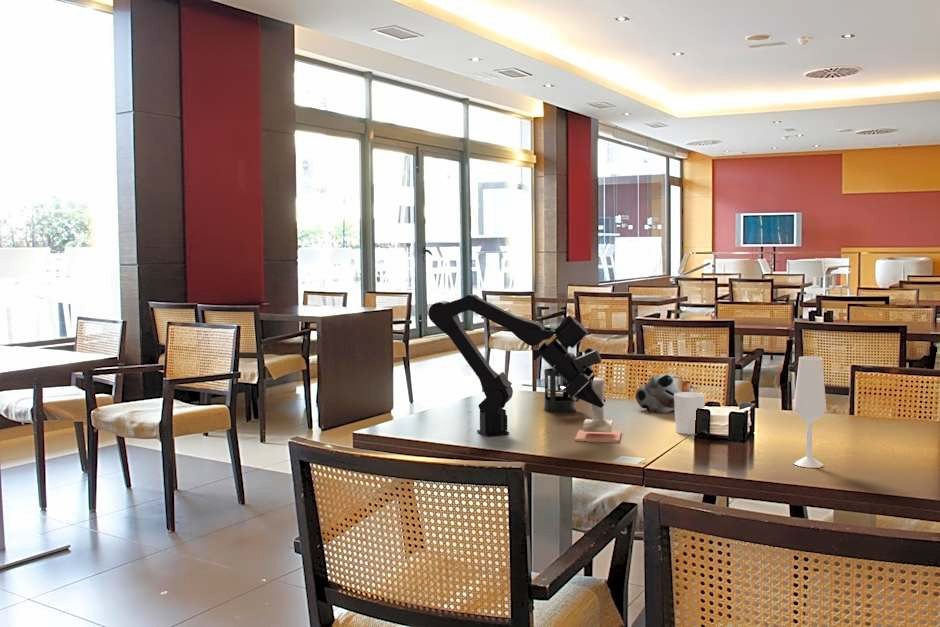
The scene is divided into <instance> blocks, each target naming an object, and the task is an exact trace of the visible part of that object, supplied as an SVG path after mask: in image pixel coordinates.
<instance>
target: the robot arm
mask: <svg viewBox="0 0 940 627" xmlns="http://www.w3.org/2000/svg"><path fill="white" fill-rule="evenodd" d="M468 311H471V312H473V313H475V314H477V315H479V316H481V317H482V318H485V319H487V320H489V321H490V322H493V323H495V324H497V325H499V326H500V327H503V328H505V329H507V330H508V331H509V332H511V333H512V334H513V335H514V336H515V337H516V338H518V339H519V340H521V341H522V342H523V343H524V344H526V345H528V346H530V347H534V346H535V347H536V346H538V345H539V344H541V345H540V346H539V347H538V348H534V349H532V356H533V357H532V360H533V361H536V360H537V359H538V358H539V357H541V358H542V359H543V360H544V361H545V362H546V363H547V364H548V365H549V366H550V367H551V368H553V369H554V370H555V373H556V374H557V375H558V374H559V375H560V378H562V380H563V379H564V380H565V381H566V382H567V383H566V385H567V386H566V393H567V394H568V397H573V396H574V399H577V398H578V399H580V400H582V401H584V402H586V403H589V404H591V405H592V404H593V405H595V406H598V407H600V408H602V407H603V406H604V407H605V402H606V398H605V397H604V404H603V402H602V401H601V400H600V398H599V397H598V395H597V394H596V392H595V391H594V390H593V388H592V381H593V379H594V378H596V373H595V370H594V369H593V367H592V366H594V365H598V364H600V363H601V362H602V357H601V355H600V353H599V350H598V349H593V348H591V347H588V348H586V349H585V350H584V354H583V355H580V356H578V357H577V356H576V355H575V354H574V355H570V354H569V353H570V352H568V350H566V349H568V348H569V347H570V348H572V349H574V348H575V347H576V346H577V345H578V344H579V343H580V342H581V341H582V340H583V339H584V338H585V337H587V335H589V331H588V330H587V328H586V327H585V326H584V325H583V324H582V323H581V322H579V321H578V320H577V319H575V318H574V317H573V316H572V315H570V314H569V315H568V316H567V317H565V318H564V320H563V321H562V323H560V324H559V325H558V326H557V327H556V328H555V327H548V326H545V325H544V323H541V322H540V321H536V320H534V319H533V320H532V319H529V318H524V317H521V316H518V315H515V314H513V313H511V312H509V311H507V310H504V309H503V308H501V307H499V306H497V305H495V304H493V303H491V302H489V301H487V300H485V299H484V298H481V297H479V296H478V295H477V294H474V293H472V294H467V295H465V296H464V297H461V298H458V299H456V300H452V301H446V300H442V301H438V302H435V303H433V304H431V305H430V307H429V309H428V318H429V320H430V321H431V322H432V323H433V324H434V325H435V326H436V327H437V329H439V330H440V331H442V332H443V333H444V334H445V335H447V337H449V339H450V340H451V342H452V344H454V346H455V348H456V349H457V350H458V351H459V352H460V354H461V356H462V357H463V358H464V359H465V361H466V362H467V364H468V365H469V366H470V368H471V370H472V371H473V372H474V373H475V375H476V377H477V378H478V380H479V382H480V384H481V389H482V391H483V393H484V395H485V398H484V399H483V400H482V401H481V402H480V403H479V404H478V408H479V429H478V430H476V432H477V433H478V434H481V435H483V436H487V437H494V436H501V435H508V434H510V431H508V414H507V409H504V408H505V407H506V404H507V403H508V402H509V401H510V400H511V399H512V397H513V394H514V393H513V392H514V390H513V387H512V385H513V383H512V382H511V381H509V380H508V378H507V376H506V374H505V372H504V371H502V372H500V373H497V372H496V371H495V370H494V369H493V368H492V366H491V365H490V364H489V363H488V361H487V360H486V358H485V357H484V356H483V354H482V353H481V351H480V350H479V348H478V347H477V345H476V344H475V343H474V341H473V340H472V339H471V337H470V336H469V334H468V333H467V332H466V330H465V329H464V327H463V325H462V321H461V319H460V316H459V314H462V313H465V312H468ZM554 335H556V336H554ZM553 337H555V338H554V339H552V340H551V341H550V342H547V340H550V339H551V338H553ZM545 340H546V341H545ZM542 342H544V343H543V344H542ZM559 342H560V344H559ZM565 348H566V349H565ZM567 353H568V354H567ZM566 354H567V355H566ZM565 355H566V356H565Z"/></svg>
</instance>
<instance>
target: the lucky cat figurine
mask: <svg viewBox="0 0 940 627" xmlns="http://www.w3.org/2000/svg"><path fill="white" fill-rule="evenodd" d="M694 391H695V386H693V385H691V381H689V380H683V379H682V377H680V376H679V375H676V374H673V373H670V374H669V373H665V374H658V375H655V374H653V375H652V376H651V378H650V380H648V381H647V383H645V384H644V385H641V386H640V387H638V388H637V389H636V392H635V395H634V397H635V400H636V402H637V404H638V405H639V406H640V407H641V409H645V410H647V412H648V413H652V414H668V413H670V412H672V411H675V408H674V394H675V393H679V392H694Z"/></svg>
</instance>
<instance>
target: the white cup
mask: <svg viewBox="0 0 940 627" xmlns="http://www.w3.org/2000/svg"><path fill="white" fill-rule="evenodd" d="M705 401H706V394H705V393H702V392H679V393H675V394H674V408H675V409H674V420H675V432H676V433H677V434H681V435H688V436H689V435H695V434H694V433H695V420H696V410H697V408H704V409H705V403H706V402H705Z"/></svg>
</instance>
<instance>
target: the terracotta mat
mask: <svg viewBox="0 0 940 627" xmlns="http://www.w3.org/2000/svg"><path fill="white" fill-rule="evenodd" d="M621 436H622V430H612V431H611V433H608V432H583V429H579V430H578V432H577V433H576V436H575V438H574V441H575V442H584V441H586V443H587V442H589V443H590V442H591V443H614V444H615V443H616V444H617V443H618V444H619V443H620V440H621Z"/></svg>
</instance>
